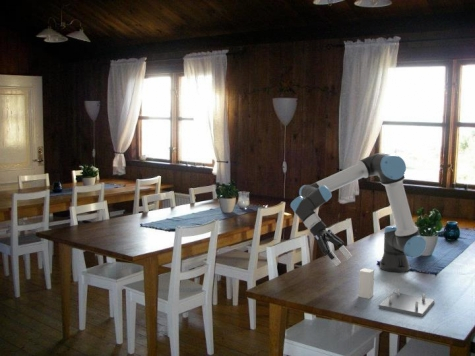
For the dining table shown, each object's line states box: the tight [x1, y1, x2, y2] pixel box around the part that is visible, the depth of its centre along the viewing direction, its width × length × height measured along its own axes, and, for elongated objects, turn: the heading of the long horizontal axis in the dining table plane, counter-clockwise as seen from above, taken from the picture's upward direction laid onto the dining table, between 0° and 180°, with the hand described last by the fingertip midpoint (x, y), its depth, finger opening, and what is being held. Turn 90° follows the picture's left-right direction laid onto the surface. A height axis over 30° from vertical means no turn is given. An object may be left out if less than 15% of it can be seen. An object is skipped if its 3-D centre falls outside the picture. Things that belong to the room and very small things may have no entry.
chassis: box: [378, 288, 435, 318], centre depth 232 cm, size 20×18×4 cm
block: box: [358, 267, 375, 300], centre depth 243 cm, size 5×5×12 cm
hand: (344, 261), depth 248 cm, fingers open, 13 cm apart
